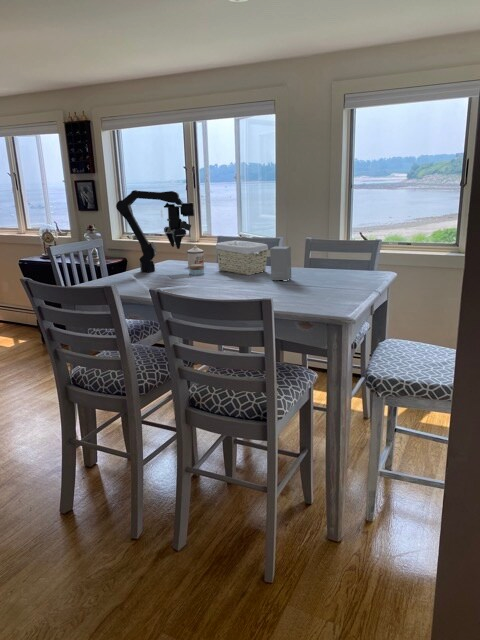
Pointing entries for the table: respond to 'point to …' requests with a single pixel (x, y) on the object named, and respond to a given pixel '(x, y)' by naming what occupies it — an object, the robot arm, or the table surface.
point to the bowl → (196, 272)
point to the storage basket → (242, 257)
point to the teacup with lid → (195, 256)
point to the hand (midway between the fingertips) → (175, 247)
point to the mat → (179, 276)
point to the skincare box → (280, 263)
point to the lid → (196, 267)
